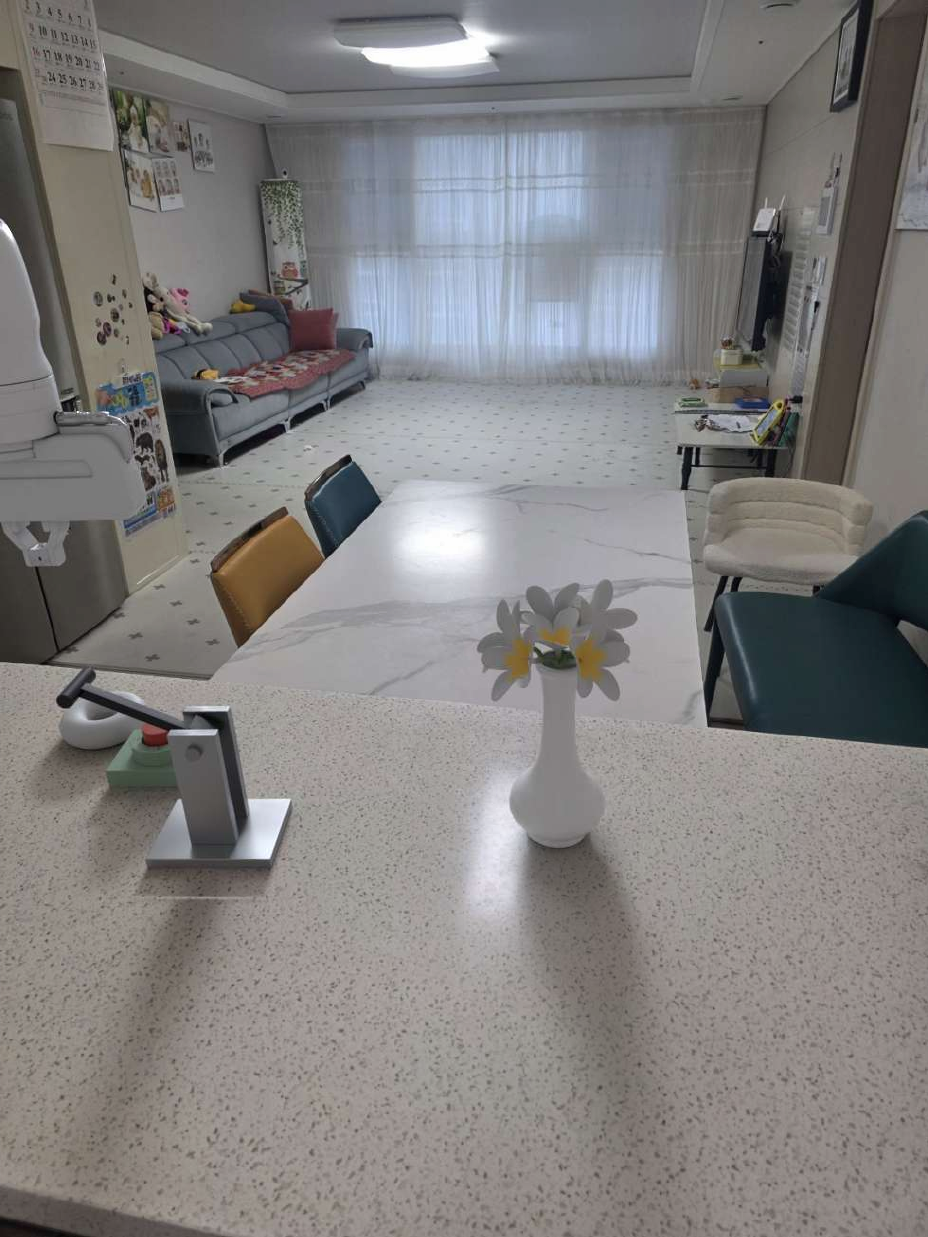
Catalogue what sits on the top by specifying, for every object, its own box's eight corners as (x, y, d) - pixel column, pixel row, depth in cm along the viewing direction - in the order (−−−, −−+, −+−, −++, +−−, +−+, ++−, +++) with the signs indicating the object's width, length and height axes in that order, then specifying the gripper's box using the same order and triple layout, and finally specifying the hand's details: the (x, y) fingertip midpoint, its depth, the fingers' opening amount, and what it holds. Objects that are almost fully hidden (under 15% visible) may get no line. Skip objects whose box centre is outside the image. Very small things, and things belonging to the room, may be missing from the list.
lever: (52, 709, 73) (58, 688, 72) (78, 680, 77) (84, 660, 76) (204, 767, 75) (212, 748, 74) (221, 736, 80) (228, 717, 79)
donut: (168, 722, 101) (114, 700, 106) (163, 698, 100) (108, 677, 105) (99, 765, 94) (44, 740, 98) (92, 740, 92) (37, 715, 97)
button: (139, 748, 90) (136, 734, 89) (151, 729, 93) (148, 716, 93) (171, 747, 90) (168, 734, 89) (182, 729, 93) (180, 716, 92)
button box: (109, 787, 90) (101, 757, 88) (138, 745, 97) (130, 716, 95) (199, 787, 89) (193, 756, 88) (221, 744, 97) (216, 715, 95)
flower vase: (635, 781, 88) (652, 565, 77) (598, 904, 73) (612, 655, 62) (519, 759, 92) (519, 550, 81) (460, 870, 77) (450, 631, 66)
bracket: (147, 869, 78) (115, 749, 72) (179, 807, 86) (153, 695, 80) (271, 869, 78) (250, 748, 72) (292, 807, 86) (275, 694, 80)
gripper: (139, 402, 72) (169, 549, 78) (-86, 408, 73) (-39, 553, 79) (109, 418, 67) (144, 575, 73) (-134, 424, 68) (-80, 579, 74)
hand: (47, 564), depth 76 cm, fingers closed
